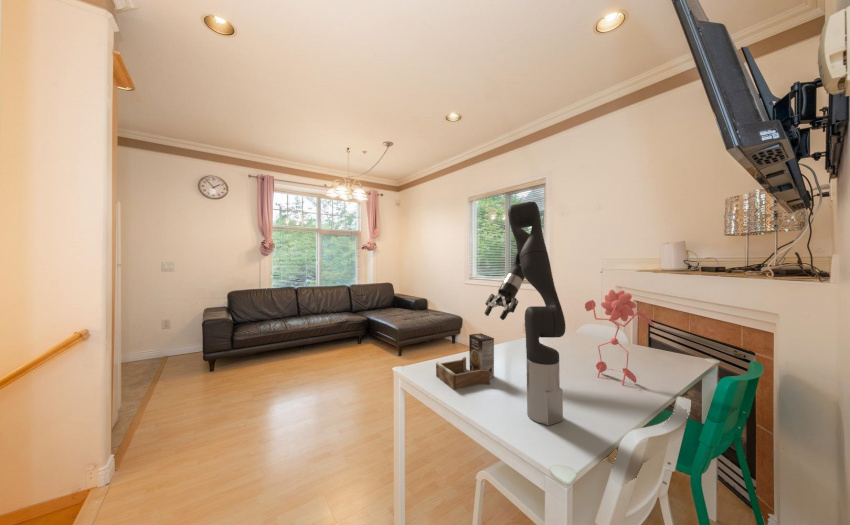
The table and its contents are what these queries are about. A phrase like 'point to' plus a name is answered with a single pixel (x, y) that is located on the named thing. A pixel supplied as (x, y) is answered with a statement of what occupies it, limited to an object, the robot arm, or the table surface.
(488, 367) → the coffee box
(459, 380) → the bay
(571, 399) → the table surface
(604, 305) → the pink flower stick figure
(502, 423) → the table surface
